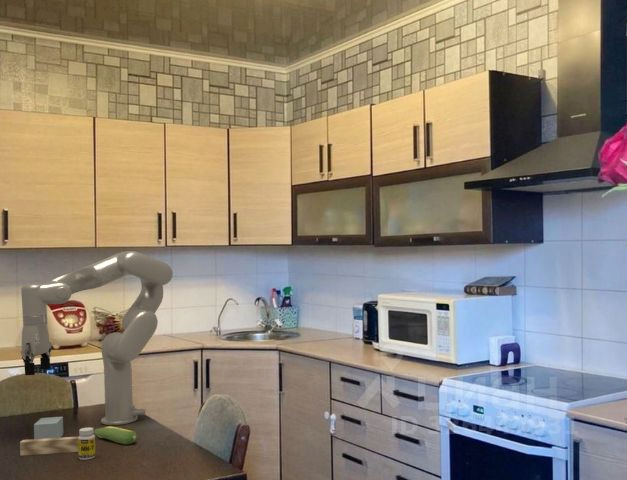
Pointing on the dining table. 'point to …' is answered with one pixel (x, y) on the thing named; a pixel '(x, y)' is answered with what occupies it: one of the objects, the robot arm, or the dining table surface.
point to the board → (49, 446)
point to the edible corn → (117, 434)
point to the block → (48, 428)
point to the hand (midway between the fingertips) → (38, 372)
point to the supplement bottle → (86, 444)
